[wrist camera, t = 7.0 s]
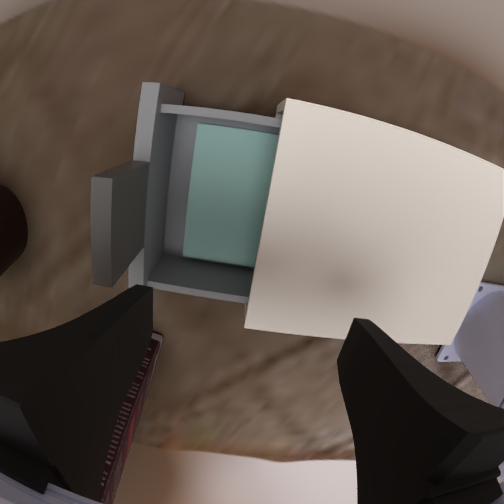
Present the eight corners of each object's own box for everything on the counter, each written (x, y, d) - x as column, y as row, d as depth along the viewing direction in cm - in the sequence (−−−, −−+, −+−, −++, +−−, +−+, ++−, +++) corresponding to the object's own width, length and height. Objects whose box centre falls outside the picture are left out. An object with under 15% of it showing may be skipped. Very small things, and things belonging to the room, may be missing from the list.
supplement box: (106, 311, 23) (5, 487, 8) (165, 334, 23) (100, 533, 9) (98, 381, 26) (36, 525, 11) (147, 400, 26) (102, 554, 12)
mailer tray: (391, 132, 17) (484, 149, 9) (348, 294, 21) (391, 389, 13) (171, 91, 16) (102, 70, 8) (154, 265, 21) (101, 353, 12)
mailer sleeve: (463, 158, 18) (514, 174, 13) (418, 301, 22) (450, 344, 17) (277, 104, 17) (286, 98, 12) (246, 278, 21) (244, 327, 16)
